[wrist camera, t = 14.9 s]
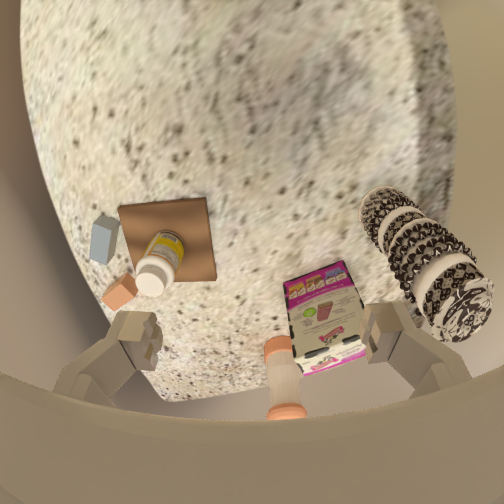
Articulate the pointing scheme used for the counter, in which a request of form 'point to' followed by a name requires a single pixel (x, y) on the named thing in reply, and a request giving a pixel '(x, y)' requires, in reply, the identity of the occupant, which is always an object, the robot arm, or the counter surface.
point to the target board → (179, 222)
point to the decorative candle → (428, 264)
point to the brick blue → (103, 239)
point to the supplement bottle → (159, 263)
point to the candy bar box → (324, 318)
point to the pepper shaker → (283, 380)
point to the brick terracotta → (120, 292)
